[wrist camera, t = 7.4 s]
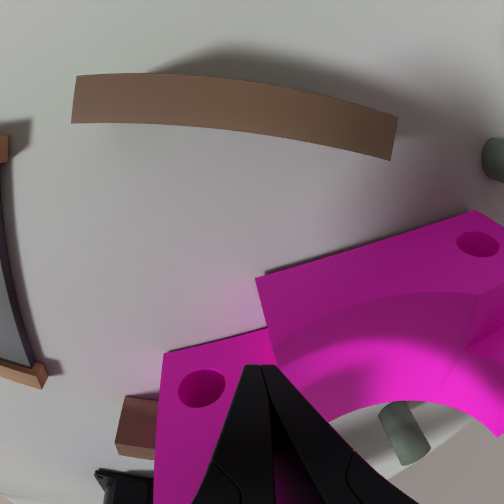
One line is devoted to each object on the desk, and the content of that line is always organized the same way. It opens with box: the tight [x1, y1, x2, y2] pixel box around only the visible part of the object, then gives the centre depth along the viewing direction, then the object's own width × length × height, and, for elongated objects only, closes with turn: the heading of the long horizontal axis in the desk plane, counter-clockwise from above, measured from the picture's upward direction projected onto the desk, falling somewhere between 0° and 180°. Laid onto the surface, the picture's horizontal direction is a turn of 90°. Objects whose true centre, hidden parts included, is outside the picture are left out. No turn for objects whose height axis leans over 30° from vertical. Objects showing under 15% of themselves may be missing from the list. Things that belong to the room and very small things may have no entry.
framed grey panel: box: [0, 73, 504, 466], centre depth 10 cm, size 18×27×4 cm, turn 82°
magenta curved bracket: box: [153, 210, 504, 504], centre depth 9 cm, size 15×6×8 cm, turn 105°
